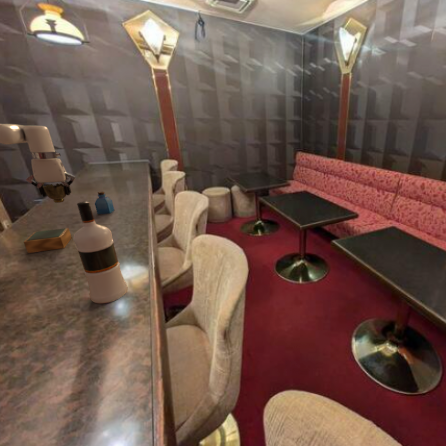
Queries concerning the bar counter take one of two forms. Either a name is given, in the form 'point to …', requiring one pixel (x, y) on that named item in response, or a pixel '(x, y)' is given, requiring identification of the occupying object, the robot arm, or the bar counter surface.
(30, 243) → the riser
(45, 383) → the bar counter surface
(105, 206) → the perfume bottle
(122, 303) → the bar counter surface
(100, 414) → the bar counter surface
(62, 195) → the cup
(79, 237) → the vodka
